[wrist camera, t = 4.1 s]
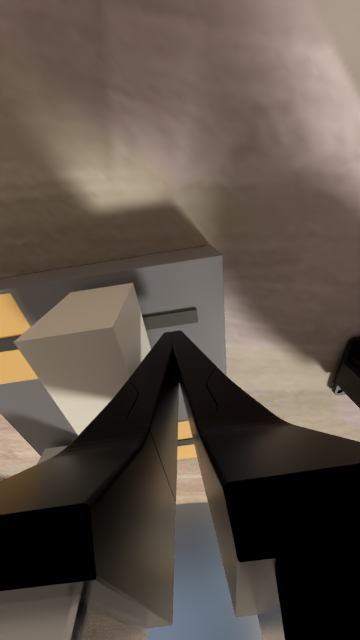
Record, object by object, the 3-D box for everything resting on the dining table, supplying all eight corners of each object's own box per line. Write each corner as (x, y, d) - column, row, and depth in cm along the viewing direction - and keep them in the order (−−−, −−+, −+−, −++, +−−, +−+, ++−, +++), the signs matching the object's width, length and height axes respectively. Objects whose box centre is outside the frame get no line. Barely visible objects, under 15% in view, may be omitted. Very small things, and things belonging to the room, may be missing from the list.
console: (210, 245, 12) (223, 255, 9) (221, 422, 21) (229, 455, 18) (-44, 285, 12) (-105, 307, 10) (73, 443, 21) (59, 478, 18)
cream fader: (133, 282, 9) (112, 327, 6) (154, 362, 12) (149, 427, 8) (70, 292, 9) (13, 342, 6) (105, 369, 12) (79, 437, 8)
